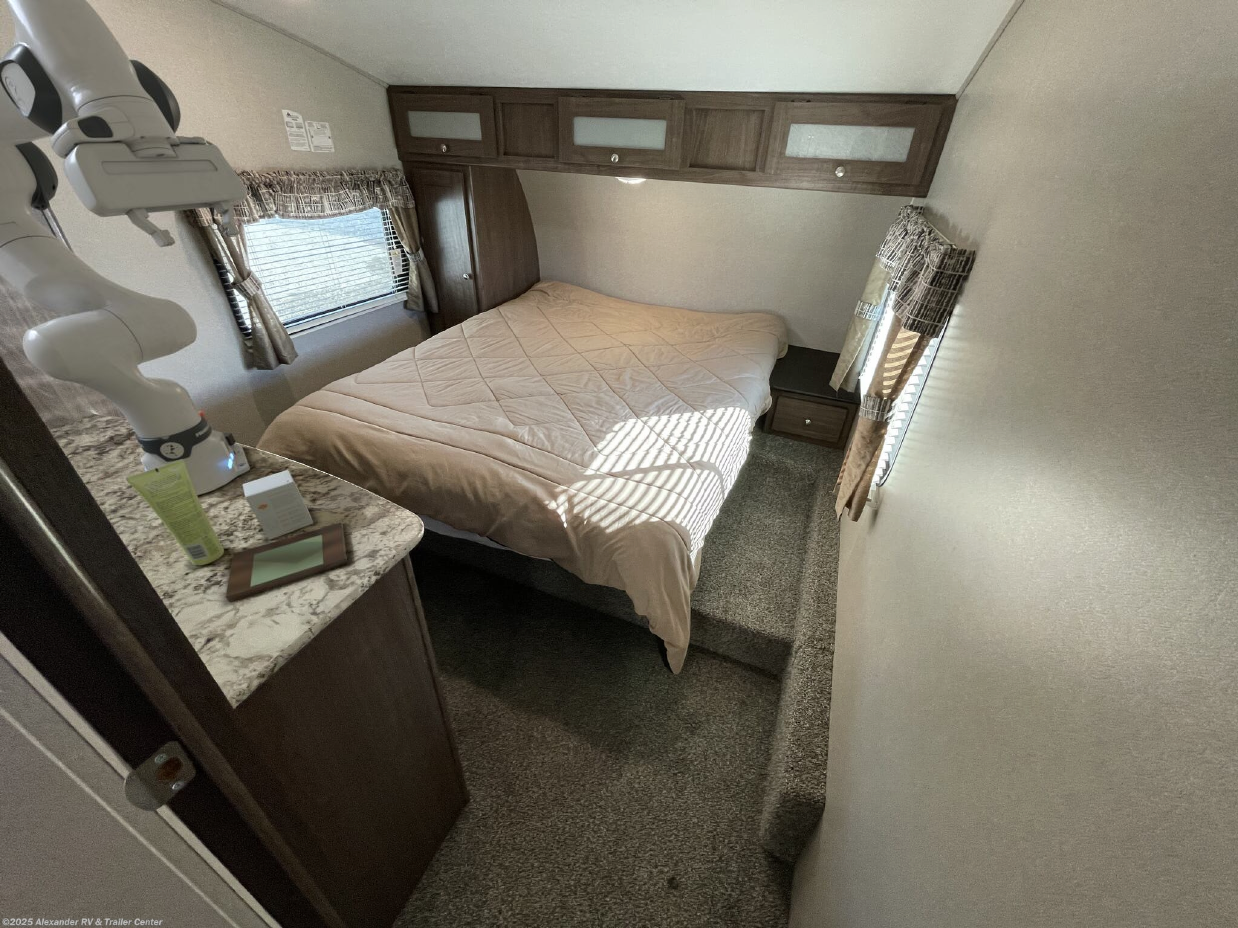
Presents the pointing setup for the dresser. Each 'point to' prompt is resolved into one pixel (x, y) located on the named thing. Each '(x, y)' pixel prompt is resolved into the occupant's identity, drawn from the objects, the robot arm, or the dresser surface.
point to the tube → (179, 510)
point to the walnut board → (286, 561)
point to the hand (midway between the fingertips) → (202, 240)
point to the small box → (277, 504)
